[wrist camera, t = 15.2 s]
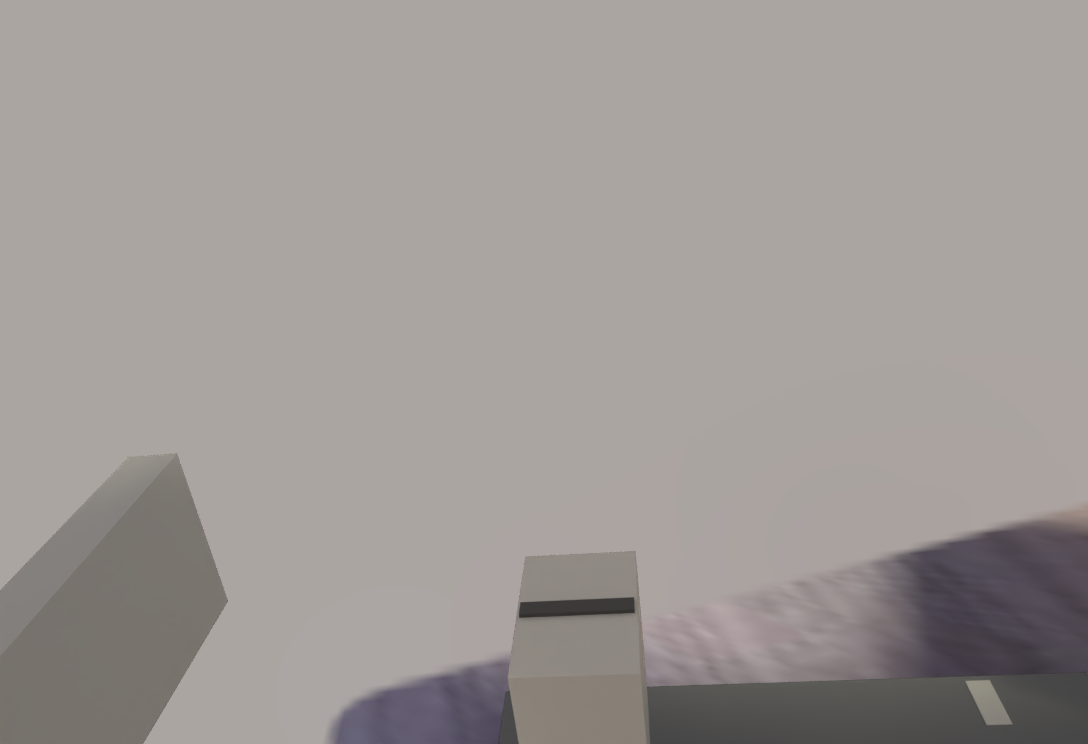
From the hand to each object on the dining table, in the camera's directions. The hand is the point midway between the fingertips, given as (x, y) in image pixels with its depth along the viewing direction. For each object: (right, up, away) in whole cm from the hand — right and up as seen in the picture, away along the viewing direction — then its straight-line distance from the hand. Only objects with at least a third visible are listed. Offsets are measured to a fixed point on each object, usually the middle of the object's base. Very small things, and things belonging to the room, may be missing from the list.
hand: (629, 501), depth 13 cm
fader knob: (+1, -15, +21) cm, 26 cm away
